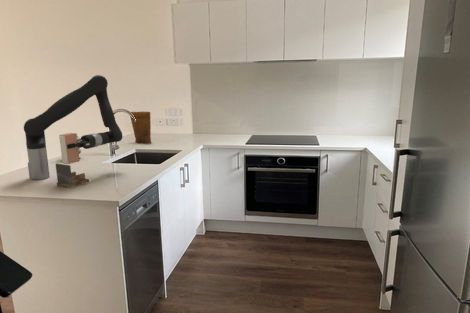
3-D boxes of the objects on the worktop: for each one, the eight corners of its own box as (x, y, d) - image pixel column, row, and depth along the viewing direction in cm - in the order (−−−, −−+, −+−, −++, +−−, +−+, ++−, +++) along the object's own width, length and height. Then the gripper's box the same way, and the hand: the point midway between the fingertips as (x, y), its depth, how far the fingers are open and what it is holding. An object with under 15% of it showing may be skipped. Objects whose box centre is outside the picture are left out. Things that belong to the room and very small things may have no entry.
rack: (76, 179, 187) (74, 159, 184) (89, 181, 182) (87, 161, 180) (56, 185, 176) (54, 164, 174) (70, 188, 172) (67, 166, 169)
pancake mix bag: (150, 144, 291) (148, 111, 285) (131, 143, 297) (128, 111, 291) (154, 143, 298) (152, 111, 292) (135, 141, 303) (133, 110, 297)
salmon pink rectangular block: (74, 160, 181) (71, 132, 177) (79, 161, 179) (76, 133, 176) (62, 163, 174) (58, 134, 171) (67, 164, 173) (64, 135, 169)
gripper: (81, 133, 189) (54, 138, 174) (100, 135, 183) (73, 140, 168) (83, 146, 191) (56, 152, 176) (101, 148, 185) (75, 154, 170)
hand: (64, 146), depth 172 cm, fingers closed on salmon pink rectangular block, 4 cm apart
